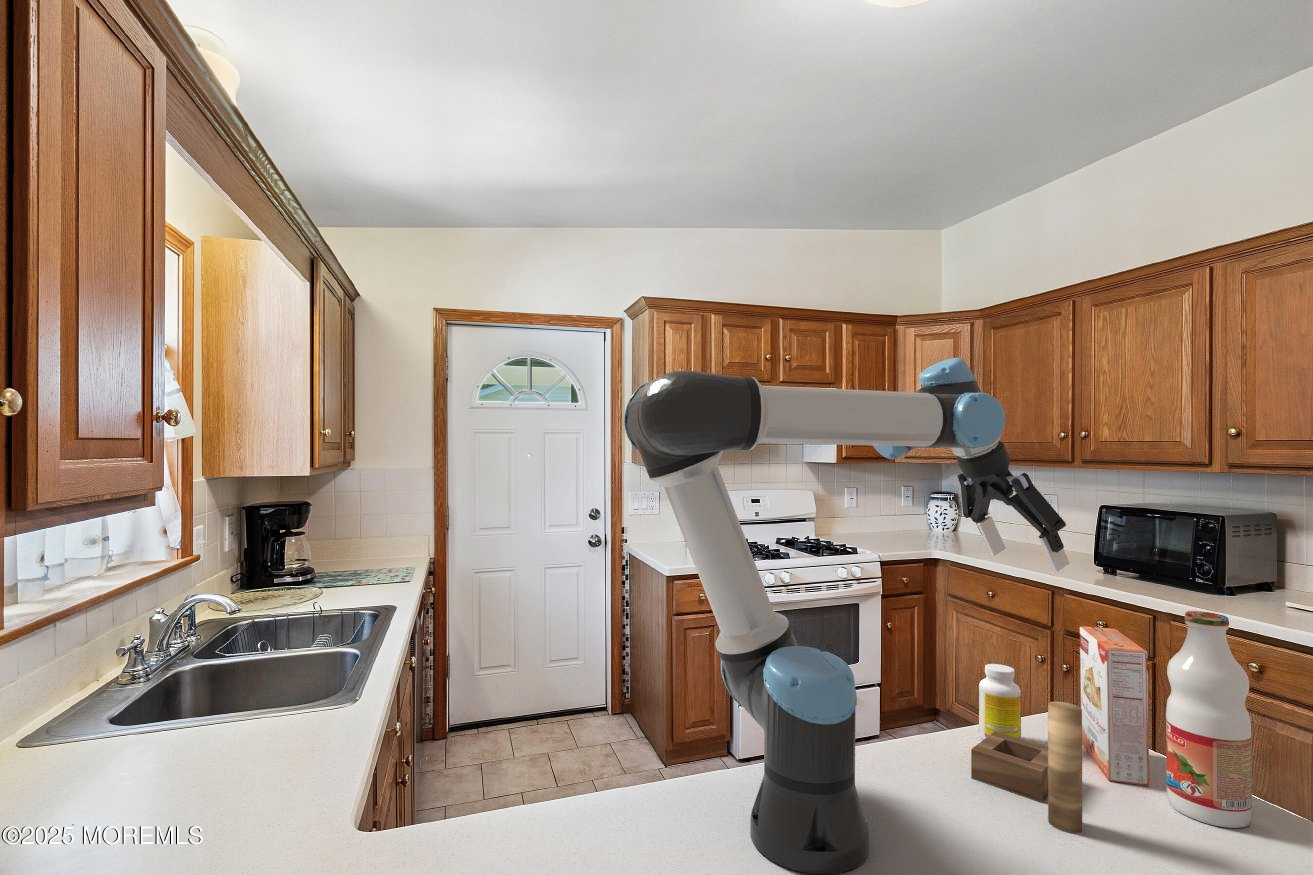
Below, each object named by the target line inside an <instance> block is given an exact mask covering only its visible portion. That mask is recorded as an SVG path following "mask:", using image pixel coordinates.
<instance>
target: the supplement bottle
mask: <svg viewBox="0 0 1313 875" xmlns="http://www.w3.org/2000/svg"><path fill="white" fill-rule="evenodd" d="M984 673H985V676H986V677H985V678H983V679H982V680H980V682H979V684H978V734H979V737H980V739H981V740H982V741H983V740H984V739H985V738H987V737H988V736H989V735H991V734H992V733H993V732H995V731H996V732H999V733H1003V734H1006V735H1010V736H1013V737H1016V738H1020V739H1022V703H1021V702H1022V701H1021V700H1022V698H1021V697H1022V696H1021V695H1022V693H1021V688H1020V687H1019V686H1020V685H1018V684H1017V683H1015V682H1014V679H1015V675H1016V674H1015V669H1014V668H1013V667H1011V666H1008V665H1004V664H998V663H989V664H985V665H984Z"/></svg>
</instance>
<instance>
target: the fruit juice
mask: <svg viewBox="0 0 1313 875" xmlns="http://www.w3.org/2000/svg"><path fill="white" fill-rule="evenodd" d="M1184 623H1185V625H1187V632H1186V637H1185V639H1184V642H1183V643H1182V644H1183V645H1182V647H1181V648H1180V649H1179V651H1178V652H1176V653H1175V654H1174V655H1173V656H1172V657H1171V659H1169V661H1168V664H1167V666H1166V667H1167V669H1166V674H1167V678H1168V683H1169V685H1170V695H1169V696H1168V697H1167V700H1166V710H1165V721H1166V722H1165V723H1166V724H1165V726H1166V727H1165V731H1166V732H1165V733H1166V734H1165V735H1166V736H1165V737H1166V738H1165V740H1166V743H1165V744H1166V746H1165V747H1166V750H1165V751H1166V754H1165V755H1166V760H1165V761H1166V763H1165V764H1166V797H1167V800H1168V803H1169V805H1170V806H1171V807H1172V808H1173V809H1175V810H1176V811H1178V812H1179V813H1181V814H1183V815H1184V816H1186V817H1188V818H1191V819H1193V820H1195V821H1199V822H1202V823H1204V824H1207V825H1211V826H1215V827H1221V828H1228V829H1241V828H1246V827H1248V826H1250V823H1251V821H1252V818H1253V817H1252V816H1253V815H1252V814H1253V794H1252V793H1253V792H1252V791H1253V790H1252V789H1253V785H1252V784H1253V783H1252V781H1253V780H1252V777H1253V776H1252V775H1253V774H1252V771H1253V770H1252V724H1251V717H1250V713H1249V711H1248V709H1247V707H1246V700H1247V697H1248V694H1249V692H1250V681H1249V680H1250V679H1249V676H1248V674H1247V672H1246V671H1245V669H1244V668H1243V666H1242V665H1240V663H1239V662H1238V661H1237V660H1236V658H1235V657H1234V655H1233V653H1232V651H1231V648H1230V646H1229V643H1228V638H1227V630H1229V626H1230V620H1229V618H1228V617H1227V616H1226V615H1223V614H1219V613H1215V612H1209V611H1198V610H1189V611H1186V612H1185V614H1184Z"/></svg>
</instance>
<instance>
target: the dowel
mask: <svg viewBox="0 0 1313 875" xmlns="http://www.w3.org/2000/svg"><path fill="white" fill-rule="evenodd" d="M1047 747H1048V797H1047V800H1048V801H1047V807H1048V808H1047V811H1048V812H1047V816H1048V817H1047V822H1048V823H1049V825H1051V827H1053V828H1055V829H1057V830H1059V831H1061V832H1066V833H1069V834H1079V833H1081V832H1082V831H1083V745H1082V709H1081V706H1078V705H1076V704H1072V703H1070V702H1064V701H1050V702H1048V703H1047Z"/></svg>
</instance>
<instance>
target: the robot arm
mask: <svg viewBox="0 0 1313 875" xmlns="http://www.w3.org/2000/svg"><path fill="white" fill-rule="evenodd" d="M919 381H920V385H921V388H920V389H918V390H917V391H915V392H911V391H892V390H891V391H890V390H889V391H888V390H887V391H886V390H871V389H870V390H866V389H847V388H846V389H845V388H825V387H824V388H823V387H822V388H821V387H802V386H800V387H799V386H782V385H781V386H780V385H762V384H761V383H760V382H759V381H758V379H757V378H756V377H753V376H738V375H729V374H720V373H713V372H712V373H711V372H703V371H696V370H687V369H685V370H674V371H670V372H668V373H667V372H666V373H664V374H662V375H661V376H659V377H656V378H655V379H650V380H649V381H647V382H645V383H642V384H641V385H640V386H639V387H638V388H637V389H636V390H635V391H634V392H633V394H631V396H630V398H629V399H628V402H627V404H626V406H625V409H624V413H623V426H624V431H625V433H626V437H627V438H628V441H629V442H630V444H631V445H632V446H633V448H635V449H636V450H637V451H638V452H639V454H640V457H641V461H642V462H643V466H644V467H645V469H646V473H647V475H648V477H649V480H650V481H652V482H655V483H657V484H660V485H661V486H662V487H663V488H664V490H665V493H666V495H667V498H668V501H669V502H670V503H669V504H670V505H671V508H672V511H673V513H674V516H675V518H676V521H677V523H678V527H679V529H680V532H681V534H682V536H683V539H684V541H685V544H686V547H687V549H688V552H689V554H690V557H691V559H692V562H693V565H694V566H695V570H696V572H697V574H698V577H699V580H700V582H701V585H702V588H703V590H704V593H705V596H706V597H707V600H708V603H709V605H710V608H711V610H712V613H713V615H714V617H715V618H714V619H715V620H716V623H717V626H718V628H719V634H718V635H717V637H716V640H715V649H716V650H717V653H718V655H719V658H720V672H721V677H722V680H723V684H724V685H725V687H726V689H727V692H728V693H729V695H730V696H731V697H732V698H733V700H734V701H735V702H736V703H737V704H738V705H739V706H740V707H741V708H743V709H745V711H746V712H747V713H748V715H750V717H752V719H753V720H754V721H755V722H756V723H757V724H758V725H759V726H760V728H762V729H763V733H764V734H763V735H764V736H763V737H764V741H763V742H764V743H763V745H764V746H763V747H764V748H763V757H764V758H763V761H764V763H763V769H764V771H763V777H762V780H761V782H760V785H759V789H758V792H757V795H756V796H755V800H754V804H753V807H752V809H751V813H750V818H749V819H750V820H749V821H750V822H749V823H750V825H749V826H750V827H749V828H750V829H749V830H750V832H749V834H750V839H751V841H752V843H753V845H754V846H755V848H756V849H757V850H758V851H759V852H760V853H761V854H762V855H763V856H765V858H767V859H768V860H770V861H771V862H773V863H776V864H777V865H779V866H782V867H783V868H786V869H790V870H793V871H795V872H796V871H797V872H800V873H807V874H810V875H811V874H813V875H834V874H835V875H836V874H842V873H847V872H848V871H851V870H854V869H856V868H858V867H859V866H860V865H862V864H863V863H864V862H865V861H866V859H868V856H869V853H870V831H869V830H870V829H869V826H868V822H867V821H866V817H865V813H864V810H863V806H862V803H861V801H860V797H859V793H858V791H857V788H856V712H857V711H856V710H857V709H856V707H857V705H858V696H857V691H856V683H855V675H854V672H853V670H852V669H851V667H850V665H848V663H847V662H846V661H845V660H844V659H842V658H840V657H839V656H837V655H835V654H834V653H831V652H829V651H821V650H820V648H815V647H810V646H802V645H798V643H797V640H796V638H795V636H794V632H793V630H792V627H791V625H790V622H789V619H788V617H787V616H785V615H783V614H781V613H779V612H777V611H774V609H773V606H772V604H771V601H770V599H769V595H768V592H767V590H766V588H765V586H764V583H763V581H762V580H763V579H762V577H761V575H760V572H759V570H758V568H757V567H758V566H757V564H756V562H755V560H754V557H753V554H752V552H751V549H750V547H749V546H750V545H749V543H748V541H747V538H746V536H745V533H744V530H743V528H742V526H741V523H740V520H739V518H738V516H737V513H736V510H735V508H734V505H733V503H732V499H731V497H730V494H729V492H728V489H727V487H726V484H725V481H724V479H723V476H722V472H721V471H720V468H719V462H720V459H721V457H722V455H723V453H724V451H751V450H753V449H755V447H756V446H757V445H759V444H791V445H793V444H797V445H798V444H799V445H801V444H802V445H841V446H842V445H845V446H872V447H873V448H874V449H875V450H876V451H877V452H878V454H880V455H881V456H882V457H884V458H886V459H888V460H896V459H898V458H900V457H902V456H904V455H906V456H907V455H908V454H909V453H910V451H912V450H916V449H940V448H947V449H948V448H949V449H950V450H951V451H952V454H953V455H954V456H956V462H957V464H958V465H959V469H960V470H961V473H959V474H958V475H957V479H958V482H959V485H960V493H961V505H962V506H961V508H962V515H963V517H964V518H966V519H969V518H970V519H971V521H972V522H974V523H975V524H976V526H977V528H978V531H979V533H980V535H981V536H982V538H983V539H984V542H985V544H986V547H987V548H988V551H989V553H990V556H992V557H995V556H997V555H998V554H1000V553H1001V552H1003V551H1005V549H1006V546H1005V544H1004V541H1003V538H1002V537H1001V535H1000V533H999V530H998V528H997V526H996V523H995V521H994V519H993V517H992V516H990V514H991V513H990V512H989V510H990V504H991V501H993V500H996V501H999V502H1003V504H1005V505H1006V506H1009V507H1012V508H1013V509H1014V510H1015V511H1016V512H1017V513H1018V514H1020V516H1022V517H1023V518H1024V519H1025V521H1027V522H1028V523H1029V524H1030V525H1031V526H1032V527H1033V528H1034V529H1035V530H1036V531H1038V532H1039V534H1038V535H1037V537H1038V539H1039V542H1040V544H1041V546H1042V549H1043V551H1044V553H1045V556H1046V557H1047V558H1046V559H1047V560H1048V561H1049V564H1050V566H1051V569H1052V571H1053V572H1055V573H1058V572H1060V571H1061V570H1062V569H1065V567H1067V566H1068V565H1070V564H1071V563H1070V560H1069V558H1068V557H1067V556H1068V555H1067V554H1066V552H1065V550H1064V548H1065V546H1064V543H1063V541H1062V539H1061V536H1060V534H1059V531H1060V530H1063V529H1064V528H1065V527H1067V523H1066V522H1065V519H1063V518H1062V517H1061V515H1059V513H1058V512H1057V511H1056V510H1055V508H1054V507H1053V506H1052V505H1051V503H1049V501H1047V499H1046V498H1045V497H1044V496H1043V495H1042V493H1041V492H1040V491H1039V490H1038V489H1037V487H1036V486H1035V485H1034V484H1033V482H1032V480H1031V478H1030V476H1029V474H1027V472H1023V473H1020V475H1013V474H1012V472H1011V471H1010V470H1009V467H1010V463H1011V457H1010V455H1009V452H1008V450H1007V448H1006V446H1005V443H1004V441H1001V436H1002V434H1003V432H1004V429H1005V425H1006V423H1005V422H1006V419H1005V418H1006V416H1005V411H1004V408H1003V406H1002V404H1001V403H1000V401H999V400H998V399H997V398H996V397H994V396H993V395H991V394H989V393H987V392H982V391H981V390H980V389H981V388H980V387H979V384H978V381H977V378H976V377H975V376H974V374H973V372H972V370H971V368H970V366H969V364H968V363H967V361H966V359H963V358H961V357H953V358H948V359H944V360H941V361H939V362H937V363H934V364H932V365H929V366H928V367H927V368H925V369H924V370H923V371H921V372H920V374H919ZM1014 493H1015V494H1014Z"/></svg>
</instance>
